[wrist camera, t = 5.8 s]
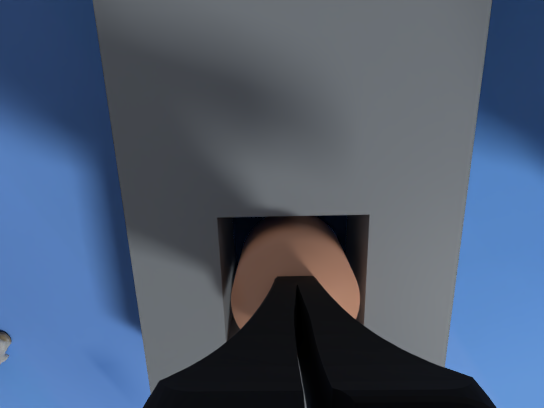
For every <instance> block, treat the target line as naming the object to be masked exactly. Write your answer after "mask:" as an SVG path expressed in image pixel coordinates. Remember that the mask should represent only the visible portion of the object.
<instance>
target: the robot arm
mask: <svg viewBox="0 0 544 408" xmlns="http://www.w3.org/2000/svg"><path fill="white" fill-rule="evenodd" d="M298 361H299V362H298ZM299 367H300V369H299ZM300 372H301V375H300ZM301 378H302V381H301ZM302 384H303V386H302ZM303 389H304V392H303ZM304 395H305V401H306V406H307V408H496V406H495V405H494V404H493V402H492V401H491V400H490V398H489V397H488V395H487V394H486V393H485V392H484V391H483V389H482V388H481V387H480V386H479V385H478V383H477V382H476V381H475V380H474V379H473V377H470V376H467V375H464V374H461V373H459V372H456V371H453V370H450V369H447V368H444V367H442V366H439V365H436V364H434V363H431V362H429V361H427V360H424V359H422V358H420V357H418V356H415V355H413V354H411V353H409V352H407V351H405V350H403V349H401V348H399V347H397V346H396V345H394V344H392V343H390V342H388V341H387V340H385V339H383V338H382V337H380V336H378V335H377V334H375V333H374V332H372V331H371V330H369V329H368V328H367V327H365V326H364V325H362V324H361V323H360V322H358V321H357V320H356V319H355V318H353V317H352V316H351V315H350V314H349V313H348V312H346V311H345V310H344V309H343V308H342V307H341V306H340V305H339V304H338V303H337V302H336V301H335V300H334V299H333V298H332V297H331V296H330V295H329V293H328V292H327V291H326V290H325V289H324V288H323V286H322V285H321V284H320V283H319V282H318V280H317V279H316V278H315V277H314V276H277V277H276V278H275V279H274V282H273V285H272V287H271V289H270V291H269V292H268V294H267V296H266V297H265V299H264V300H263V302H262V304H261V305H260V306H259V308H258V309H257V310H256V312H255V313H254V314H253V316H252V317H251V318H250V319H249V320H248V322H247V323H246V324H245V325H244V326H243V327H242V328H241V329H240V330H239V331H238V332H237V333H236V334H235V335H234V336H233V337H232V338H231V339H229V340H228V341H227V342H226V343H224V344H223V345H222V346H221V347H219V348H218V349H217V350H215V351H214V352H212V353H211V354H209V355H208V356H206V357H205V358H203V359H201V360H200V361H198V362H196V363H195V364H193V365H191V366H189V367H187V368H185V369H183V370H181V371H179V372H177V373H175V374H173V375H171V376H169V377H167V378H164V379H162V380H160V381H159V382H158V383H157V385H156V387H155V388H154V390H153V392H152V394H151V395H150V397H149V398H148V400H147V402H146V403H145V405H144V407H143V408H305V403H304Z"/></svg>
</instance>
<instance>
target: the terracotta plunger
mask: <svg viewBox="0 0 544 408" xmlns="http://www.w3.org/2000/svg"><path fill="white" fill-rule="evenodd" d="M277 276H314V277H315V278H316V279H317V280H318V282H319V283H320V284H321V285H322V286H323V288H324V289H325V290H326V291H327V292H328V293H329V295H330V296H331V297H332V298H333V299H334V300H335V301H336V302H337V303H338V304H339V305H340V306H341V307H342V308H343V309H344V310H345V311H346V312H348V313H349V314H350V315H351V316H352V317H353V318H355V319H356V317H357V314H358V311H359V305H360V292H359V286H358V283H357V280H356V278H355V276H354V273H353V271H352V269H351V267H350V264H349V262H348V260H347V258H346V256H345V253H344V251H343V249H342V247H341V245H340V242H339V240H338V238H337V236H336V234H335V233H334V231H333V230H332V229H331V228H330V227H329V225H328V224H326V223H325V222H324V221H323V220H321V219H320V218H318V217H316V216H270V217H266V218H264V219H263V220H261V221H260V222H258V223H257V224H256V225H255V226H254V227H253V228H252V229H251V231H250V232H249V234H248V235H247V237H246V239H245V241H244V244H243V247H242V251H241V255H240V259H239V263H238V267H237V271H236V275H235V279H234V283H233V287H232V293H231V307H232V312H233V316H234V318H235V321H236V323H237V325H238V326H239V328H240V329H241V328H242V327H243V326H244V325H245V324H246V323H247V322H248V320H249V319H250V318H251V317H252V316H253V314H254V313H255V312H256V310H257V309H258V308H259V306H260V305H261V304H262V302H263V300H264V299H265V297H266V296H267V294H268V292H269V291H270V289H271V287H272V285H273V282H274V279H275V278H276V277H277Z"/></svg>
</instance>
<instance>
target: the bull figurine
mask: <svg viewBox="0 0 544 408" xmlns="http://www.w3.org/2000/svg"><path fill="white" fill-rule="evenodd" d="M10 344H11V339H10V337H9V336H8V335H7V334H6V333H4V332H0V364H1V363H2V362H4V361H5V360H6V359H7V358H8V357H9V355H8V354H5V352H6V350H7V348H8V346H9V345H10Z"/></svg>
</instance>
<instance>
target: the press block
mask: <svg viewBox="0 0 544 408" xmlns="http://www.w3.org/2000/svg"><path fill="white" fill-rule="evenodd" d="M491 5H492V0H93V6H94V13H95V20H96V27H97V33H98V40H99V47H100V54H101V60H102V67H103V74H104V81H105V87H106V94H107V101H108V108H109V114H110V121H111V128H112V135H113V141H114V148H115V155H116V162H117V169H118V175H119V182H120V189H121V196H122V202H123V209H124V216H125V223H126V229H127V236H128V243H129V250H130V256H131V263H132V270H133V277H134V283H135V290H136V297H137V304H138V310H139V317H140V324H141V331H142V337H143V344H144V351H145V358H146V364H147V371H148V378H149V385H150V391H151V394H152V392H153V390H154V388H155V387H156V385H157V383H158V382H159V381H160V380H162V379H164V378H167V377H169V376H171V375H173V374H175V373H177V372H179V371H181V370H183V369H185V368H187V367H189V366H191V365H193V364H195V363H196V362H198V361H200V360H201V359H203V358H205V357H206V356H208V355H209V354H211V353H212V352H214V351H215V350H217V349H218V348H219V347H221V346H222V345H223V344H224V343H226V342H227V341H228V340H229V339H231V338H232V337H233V336H234V335H235V334H236V333H237V332H238V331H239V330H240V328H239V326H238V325H237V323H236V321H235V318H234V316H233V312H232V307H231V293H232V287H233V283H234V279H235V275H236V260H235V243H234V227H233V217H270V216H319V215H347V225H346V254H345V256H346V258H347V260H348V262H349V264H350V267H351V269H352V271H353V273H354V276H355V278H356V280H357V283H358V286H359V292H360V305H359V311H358V314H357V317H356V320H357V321H358V322H360V323H361V324H362V325H364V326H365V327H367V328H368V329H369V330H371V331H372V332H374V333H375V334H377V335H378V336H380V337H382V338H383V339H385V340H387V341H388V342H390V343H392V344H394V345H396V346H397V347H399V348H401V349H403V350H405V351H407V352H409V353H411V354H413V355H415V356H418V357H420V358H422V359H424V360H427V361H429V362H431V363H434V364H436V365H439V366H442V367H444V368H445V360H446V352H447V344H448V337H449V329H450V321H451V314H452V306H453V298H454V290H455V283H456V275H457V267H458V260H459V252H460V244H461V236H462V229H463V221H464V213H465V206H466V198H467V190H468V182H469V175H470V167H471V159H472V152H473V144H474V136H475V128H476V121H477V113H478V105H479V98H480V90H481V82H482V74H483V67H484V59H485V51H486V44H487V36H488V28H489V20H490V13H491ZM298 362H299V361H298ZM299 369H300V367H299ZM300 375H301V372H300ZM301 381H302V378H301ZM302 386H303V384H302ZM303 392H304V389H303ZM304 403H305V408H307V406H306V401H305V395H304Z"/></svg>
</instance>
